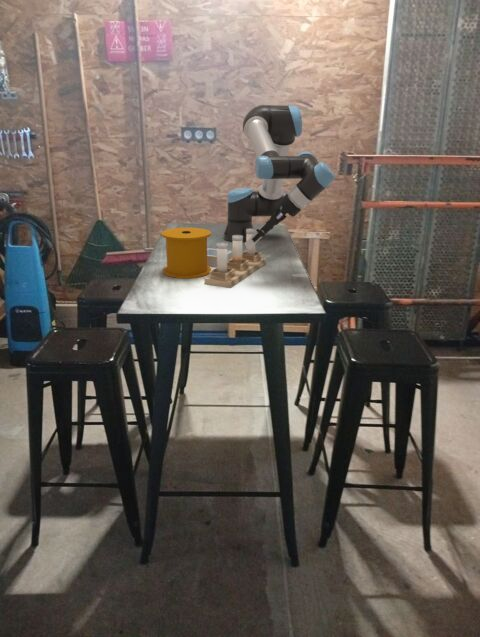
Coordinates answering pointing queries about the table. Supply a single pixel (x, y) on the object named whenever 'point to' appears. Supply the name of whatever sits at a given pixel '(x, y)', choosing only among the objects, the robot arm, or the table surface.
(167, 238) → the spool
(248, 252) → the fuse
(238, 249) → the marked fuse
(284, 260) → the table surface
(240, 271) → the fuse block
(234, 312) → the table surface
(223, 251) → the fuse
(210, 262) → the tray
